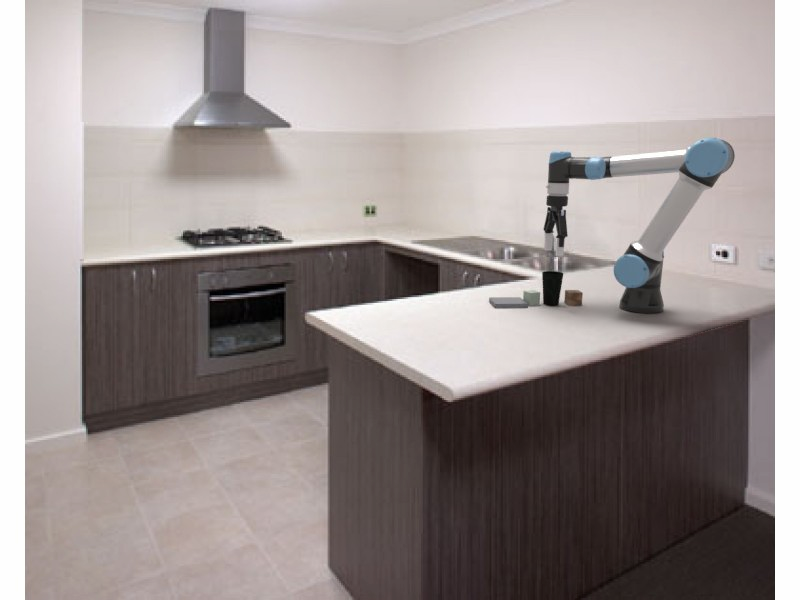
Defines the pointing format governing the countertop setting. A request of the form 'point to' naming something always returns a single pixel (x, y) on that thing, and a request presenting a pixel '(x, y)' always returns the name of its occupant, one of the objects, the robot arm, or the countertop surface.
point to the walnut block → (573, 297)
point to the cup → (551, 287)
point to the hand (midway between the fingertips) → (553, 253)
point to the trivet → (508, 302)
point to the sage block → (532, 297)
